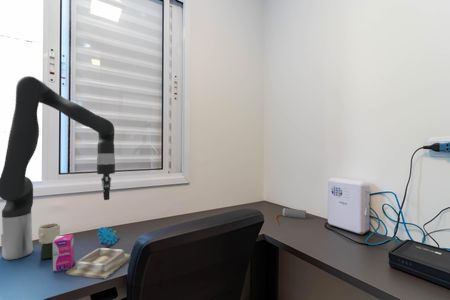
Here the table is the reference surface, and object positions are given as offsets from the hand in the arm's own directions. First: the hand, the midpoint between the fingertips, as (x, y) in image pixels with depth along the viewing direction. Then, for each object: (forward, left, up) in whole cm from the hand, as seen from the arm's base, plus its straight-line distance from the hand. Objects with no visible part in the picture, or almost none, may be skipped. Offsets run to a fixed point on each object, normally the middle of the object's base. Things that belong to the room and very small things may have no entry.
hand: (106, 198), depth 107 cm
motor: (+87, +48, -22) cm, 102 cm away
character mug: (-16, -14, -22) cm, 30 cm away
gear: (-1, +2, -22) cm, 22 cm away
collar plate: (+10, -16, -22) cm, 29 cm away
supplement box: (-3, -20, -22) cm, 30 cm away
